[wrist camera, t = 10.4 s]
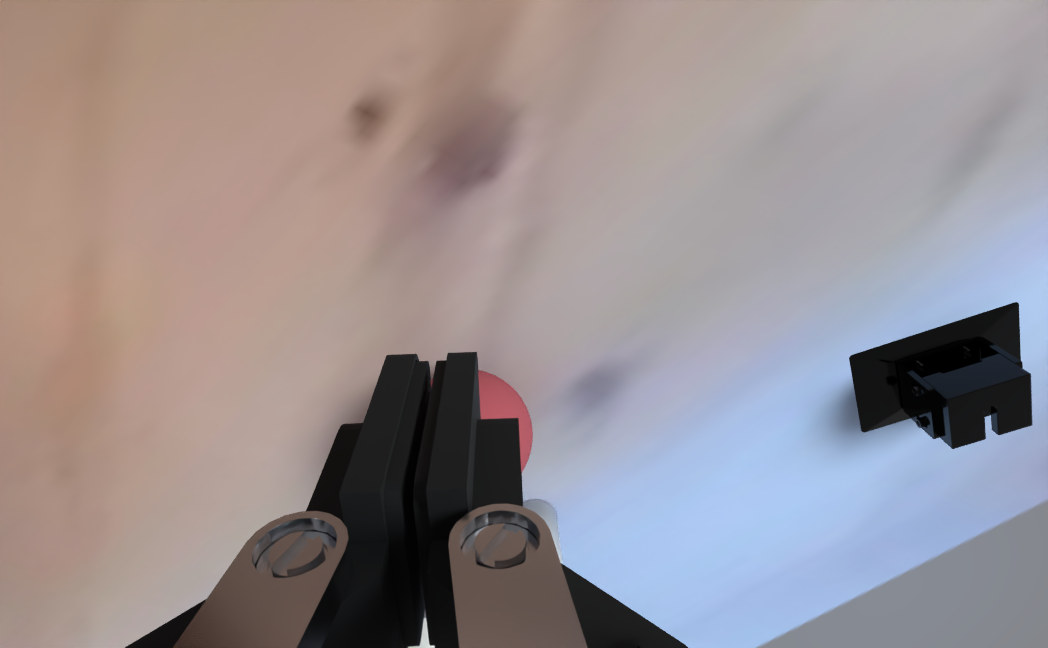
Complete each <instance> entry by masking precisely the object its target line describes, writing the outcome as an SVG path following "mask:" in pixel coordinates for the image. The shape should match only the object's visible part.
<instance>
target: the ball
mask: <svg viewBox="0 0 1048 648" xmlns="http://www.w3.org/2000/svg"><path fill="white" fill-rule="evenodd" d="M478 376H479V394H480V413H481V419H499V418H518V419H519V437H520V456H521V473H522V471H523V470H524V468H525V466H526V463H527V461H528V459H529V455H530V452H531V447H532V437H533V432H532V423H531V419H530V415H529V413H528V410H527V407H526V406H525V404H524V402H523V400H522V399H521V397H520V396H519V395H518V393H517V392H516V391H515V390H514V389H513V388H512V387H511V386H510V385H509V384H507V383H506V382H505V381H504V380H502V379H500V378H498V377H497V376H495V375H492V374H490V373H487V372H484V371H479V370H478ZM432 382H433V379H432V380H431V388H432Z"/></svg>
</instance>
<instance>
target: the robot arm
mask: <svg viewBox="0 0 1048 648" xmlns="http://www.w3.org/2000/svg"><path fill="white" fill-rule="evenodd" d="M425 612H426V621H427V630H428V638H429V644H430V646H435V648H688V647H687V646H686V645H685V644H683V643H682V642H680V641H679V640H677V639H675V638H674V637H672V636H671V635H669V634H668V633H666V632H665V631H663V630H662V629H660V628H659V627H657V626H656V625H654V624H653V623H651V622H650V621H648V620H647V619H645V618H644V617H642V616H641V615H639V614H638V613H636V612H634V611H633V610H631V609H630V608H628V607H627V606H625V605H624V604H622V603H621V602H619V601H618V600H616V599H615V598H613V597H612V596H610V595H609V594H607V593H606V592H604V591H603V590H601V589H600V588H598V587H597V586H595V585H593V584H592V583H590V582H589V581H587V580H586V579H584V578H583V577H581V576H580V575H578V574H577V573H575V572H574V571H572V570H571V569H569V568H568V567H566V566H565V565H563V564H562V563H560V559H559V556H558V553H557V550H556V547H555V544H554V541H553V537H552V534H551V531H550V529H549V527H548V526H547V524H546V522H545V520H544V519H542V518H541V517H540V516H539V515H538V514H537V513H535V512H534V511H532V510H529V509H527V508H525V507H523V495H522V475H521V456H520V437H519V419H518V418H499V419H481V413H480V394H479V376H478V359H477V352H464V353H448V355H447V360H446V361H437V362H436V366H435V372H434V377H433V382H432V388H431V377H430V367H429V362H428V361H419V359H418V356H417V354H403V355H387V356H386V359H385V361H384V364H383V367H382V370H381V373H380V376H379V379H378V382H377V385H376V387H375V390H374V393H373V396H372V399H371V402H370V405H369V408H368V411H367V414H366V416H365V419H364V422H363V423H356V424H343V425H341V427H340V429H339V430H338V433H337V435H336V438H335V440H334V443H333V445H332V448H331V450H330V453H329V455H328V458H327V460H326V463H325V465H324V468H323V470H322V473H321V475H320V478H319V480H318V483H317V485H316V488H315V490H314V493H313V495H312V498H311V500H310V503H309V505H308V508H307V510H306V511H303V512H297V513H293V514H289V515H285V516H283V517H280V518H278V519H276V520H274V521H271V522H269V523H268V524H266V525H265V526H264V527H262V528H261V529H259V530H258V531H256V532H255V533H254V535H253V536H252V537H251V538H250V539H249V540H248V541H247V542H246V543H245V545H244V546H243V548H242V549H241V551H240V552H239V554H238V555H237V556H236V558H235V559H234V561H233V562H232V564H231V565H230V566H229V568H228V569H227V571H226V572H225V574H224V575H223V576H222V578H221V579H220V581H219V582H218V584H217V585H216V587H215V588H214V589H213V591H212V592H211V594H210V595H209V597H208V598H207V599H206V600H204V601H202V602H201V603H199V604H197V605H196V606H194V607H192V608H191V609H189V610H187V611H186V612H184V613H182V614H181V615H179V616H177V617H175V618H174V619H172V620H170V621H169V622H167V623H165V624H164V625H162V626H160V627H159V628H157V629H155V630H154V631H152V632H150V633H149V634H147V635H145V636H144V637H142V638H140V639H139V640H137V641H135V642H133V643H132V644H130V645H128V646H127V647H125V648H408V647H412V646H420V643H421V636H422V629H423V621H424V613H425Z"/></svg>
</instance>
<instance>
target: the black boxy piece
mask: <svg viewBox="0 0 1048 648" xmlns="http://www.w3.org/2000/svg"><path fill="white" fill-rule="evenodd" d="M849 360H850V366H851V372H852V378H853V384H854V390H855V396H856V401H857V407H858V413H859V419H860V425H861V431H862V432H867V431H870V430H874V429H877V428H880V427H884V426H887V425H890V424H893V423H897V422H900V421H903V420H906V419H910V418H911V419H913V420H914V421H915V422H916V424H917V426H918V427H919V428H922V429H923V430H924V431H925V432H926V433H927V434H928V435H930V436H931V437H932V438H933V439H936V438H939V437H940V438H941V439H942V440H943V441H944V442H945V443H947V444H948V445H949V446H950V447H951V448H952V449H955V448H958V447H961V446H965V445H968V444H971V443H975V442H978V441H981V440H985V439H986V433H985V418H984V417H986V416H990V415H991V422H992V430H993V431H994V432H995V433H996V434H998V435H1001V434H1005V433H1008V432H1011V431H1015V430H1018V429H1021V428H1025V427H1028V426H1031V425H1032V393H1031V374H1030V373H1029V372H1027V371H1025V370H1024V369H1023V368H1022V361H1021V356H1020V327H1019V304H1018V303H1017V302H1015V303H1012V304H1009V305H1006V306H1002V307H999V308H996V309H993V310H990V311H987V312H984V313H981V314H978V315H975V316H971V317H968V318H965V319H962V320H959V321H956V322H953V323H950V324H947V325H944V326H941V327H937V328H934V329H931V330H928V331H925V332H922V333H919V334H916V335H913V336H910V337H906V338H903V339H900V340H897V341H894V342H891V343H888V344H885V345H882V346H879V347H875V348H872V349H869V350H866V351H863V352H860V353H857V354H854V355H851V356H850V358H849Z"/></svg>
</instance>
